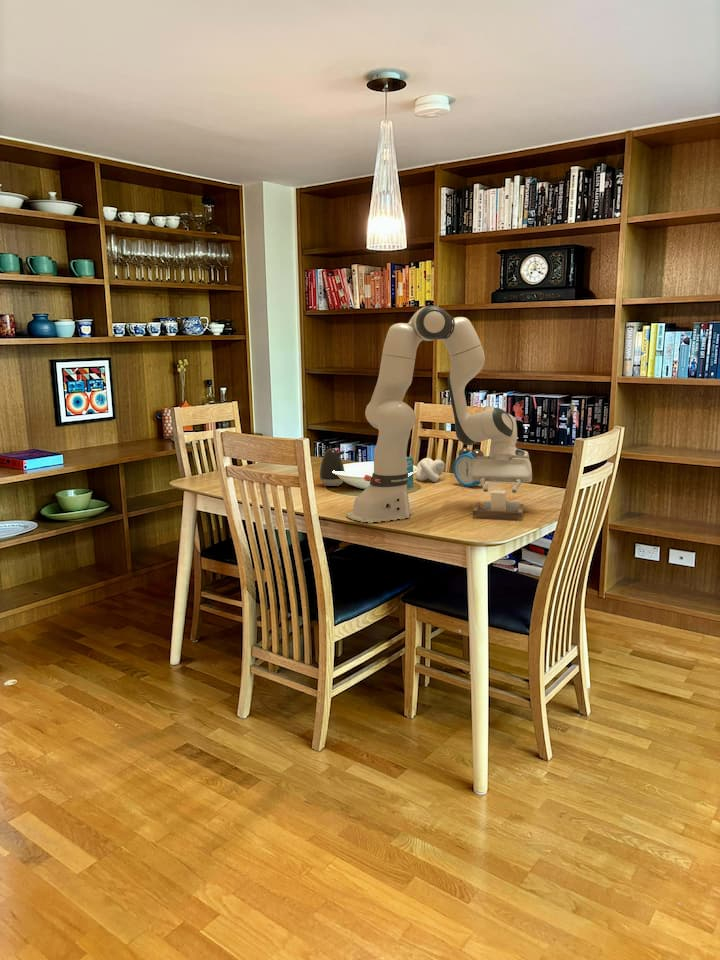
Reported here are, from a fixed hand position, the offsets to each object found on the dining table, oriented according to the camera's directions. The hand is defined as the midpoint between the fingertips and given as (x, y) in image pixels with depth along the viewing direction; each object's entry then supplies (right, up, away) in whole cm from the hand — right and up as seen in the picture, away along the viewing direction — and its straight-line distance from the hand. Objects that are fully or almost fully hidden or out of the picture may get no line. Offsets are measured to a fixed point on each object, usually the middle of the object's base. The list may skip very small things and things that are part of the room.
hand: (499, 491), depth 243 cm
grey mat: (+3, -7, +11) cm, 14 cm away
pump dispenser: (-57, +1, +57) cm, 81 cm away
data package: (-30, 0, +50) cm, 58 cm away
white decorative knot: (-17, +3, +63) cm, 65 cm away
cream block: (-1, -8, -2) cm, 8 cm away
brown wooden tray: (0, -9, 0) cm, 9 cm away
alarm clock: (-2, +1, +52) cm, 52 cm away
